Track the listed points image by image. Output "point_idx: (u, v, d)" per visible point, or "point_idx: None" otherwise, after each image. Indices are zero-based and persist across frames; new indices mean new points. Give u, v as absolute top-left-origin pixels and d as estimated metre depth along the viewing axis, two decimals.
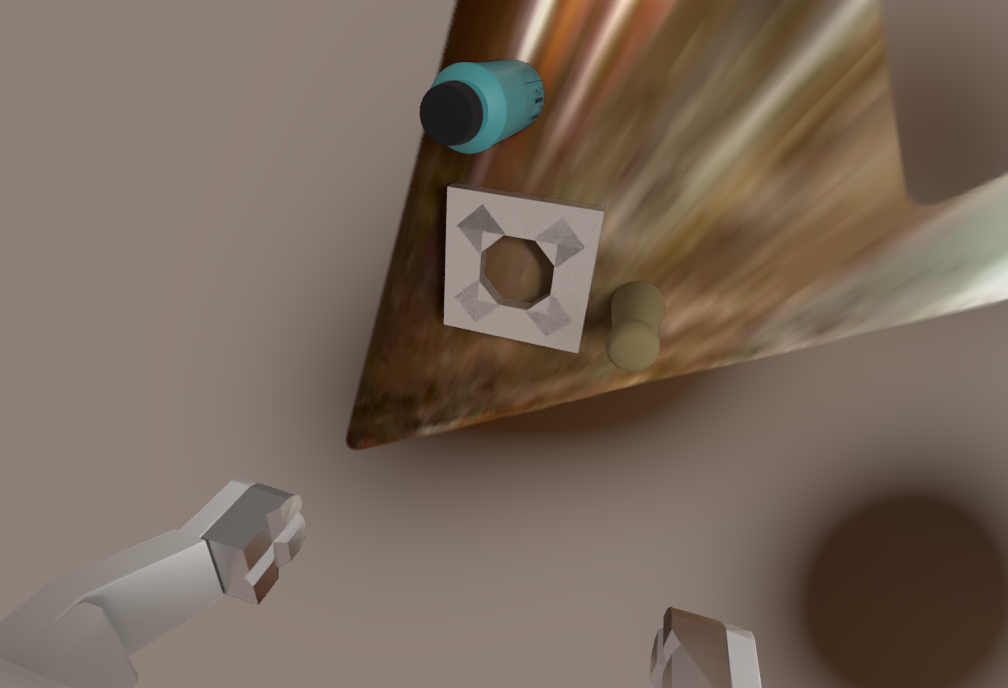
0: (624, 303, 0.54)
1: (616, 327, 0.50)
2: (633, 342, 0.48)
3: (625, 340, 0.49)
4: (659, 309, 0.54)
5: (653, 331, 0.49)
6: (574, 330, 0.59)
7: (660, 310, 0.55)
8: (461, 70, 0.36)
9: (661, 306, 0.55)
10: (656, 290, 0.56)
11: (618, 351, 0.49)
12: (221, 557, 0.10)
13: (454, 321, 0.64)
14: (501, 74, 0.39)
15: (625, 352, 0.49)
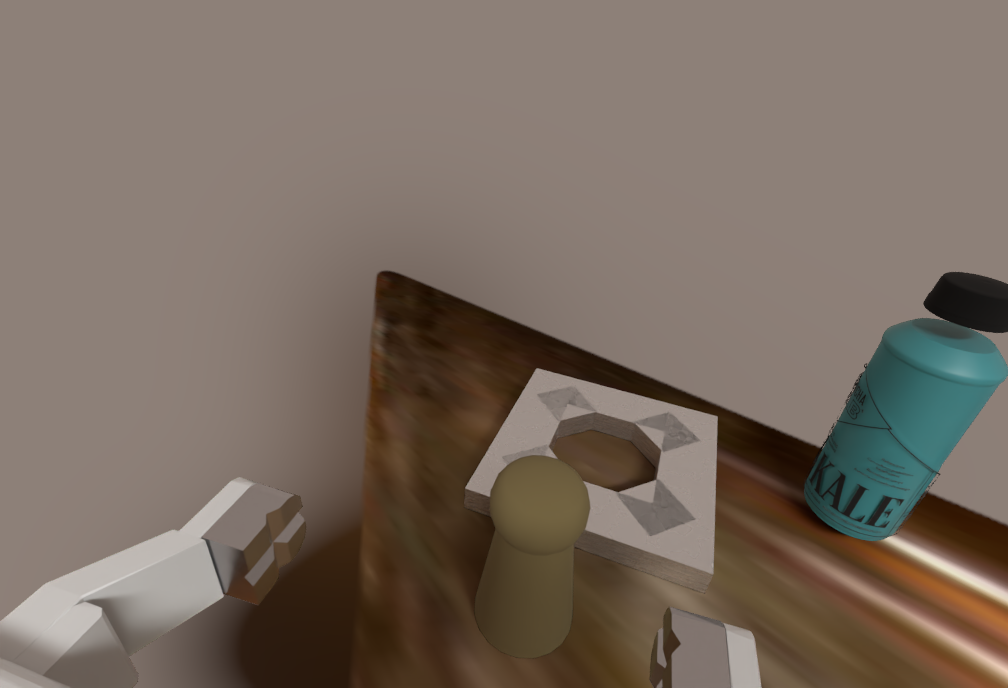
0: None
1: None
2: (567, 487, 0.26)
3: (570, 478, 0.26)
4: (541, 620, 0.28)
5: (569, 538, 0.25)
6: None
7: (537, 622, 0.28)
8: None
9: (537, 633, 0.28)
10: (556, 642, 0.29)
11: (549, 464, 0.27)
12: (221, 557, 0.10)
13: (539, 377, 0.49)
14: (980, 409, 0.30)
15: (547, 472, 0.26)
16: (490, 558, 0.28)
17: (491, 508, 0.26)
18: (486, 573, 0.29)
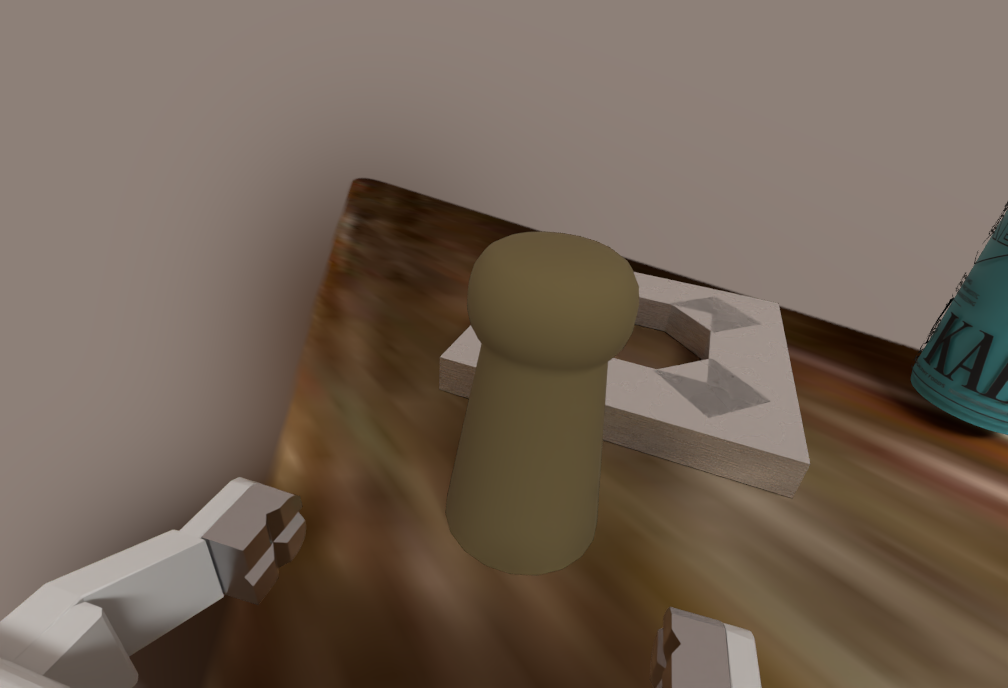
0: None
1: None
2: (602, 256, 0.15)
3: (606, 250, 0.15)
4: (551, 506, 0.17)
5: (607, 335, 0.14)
6: None
7: (545, 510, 0.17)
8: None
9: (544, 530, 0.17)
10: (574, 552, 0.18)
11: (568, 235, 0.16)
12: (221, 557, 0.10)
13: None
14: None
15: (566, 239, 0.15)
16: (469, 408, 0.17)
17: (469, 297, 0.15)
18: (463, 437, 0.18)
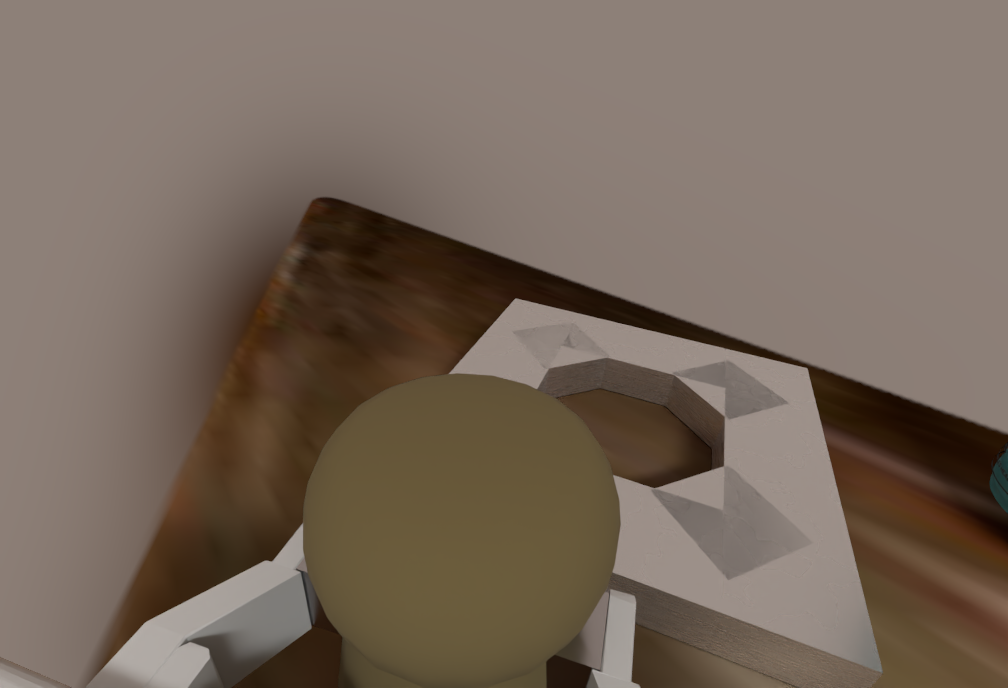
0: None
1: None
2: (547, 457, 0.08)
3: (560, 430, 0.08)
4: None
5: (552, 637, 0.07)
6: None
7: None
8: None
9: None
10: None
11: (496, 391, 0.09)
12: None
13: (518, 310, 0.31)
14: None
15: (487, 410, 0.08)
16: (341, 656, 0.10)
17: None
18: None
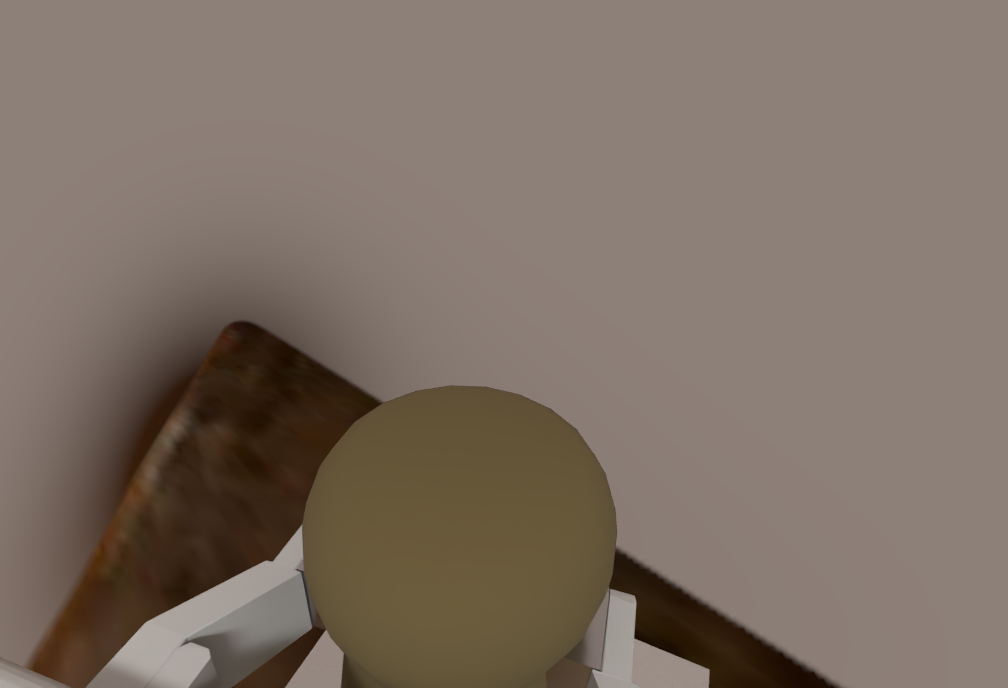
0: None
1: None
2: (544, 471, 0.08)
3: (556, 442, 0.08)
4: None
5: (553, 649, 0.07)
6: None
7: None
8: None
9: None
10: None
11: (490, 404, 0.09)
12: None
13: None
14: None
15: (483, 425, 0.08)
16: (343, 669, 0.11)
17: None
18: None
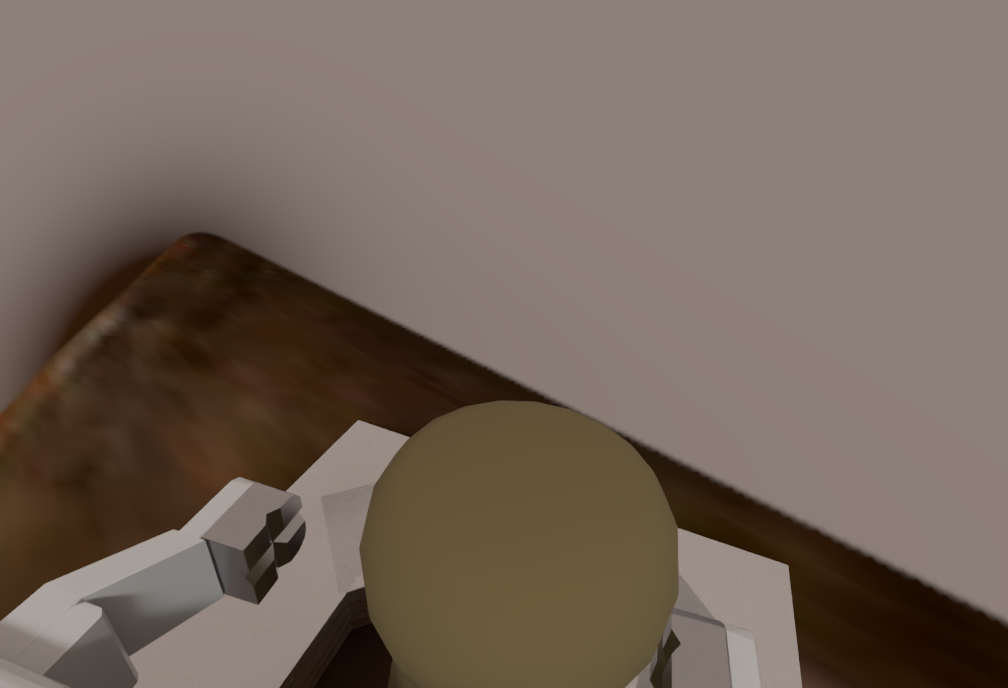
0: None
1: None
2: (609, 489, 0.08)
3: (616, 459, 0.08)
4: None
5: (627, 674, 0.07)
6: None
7: None
8: None
9: None
10: None
11: (545, 420, 0.09)
12: (221, 557, 0.10)
13: (352, 445, 0.21)
14: None
15: (541, 442, 0.08)
16: None
17: (361, 564, 0.08)
18: None
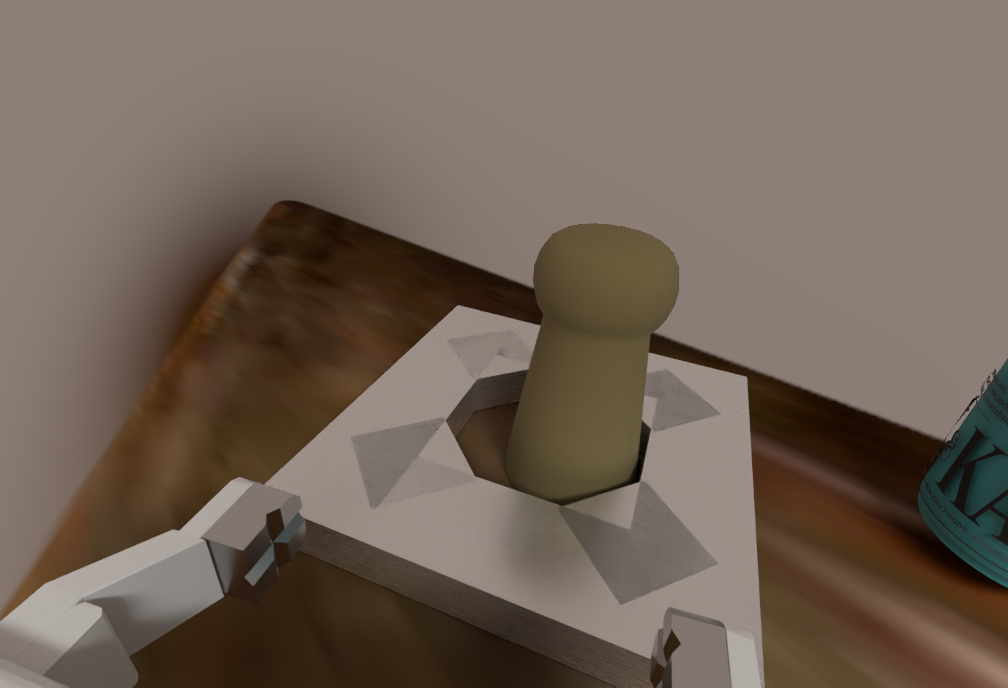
0: None
1: None
2: (649, 242, 0.18)
3: (650, 237, 0.18)
4: (605, 456, 0.20)
5: (657, 307, 0.17)
6: (336, 506, 0.18)
7: (600, 460, 0.20)
8: None
9: (599, 477, 0.20)
10: None
11: (616, 226, 0.19)
12: (221, 557, 0.10)
13: (458, 317, 0.31)
14: None
15: (617, 229, 0.18)
16: (531, 376, 0.20)
17: (538, 279, 0.18)
18: (524, 402, 0.21)
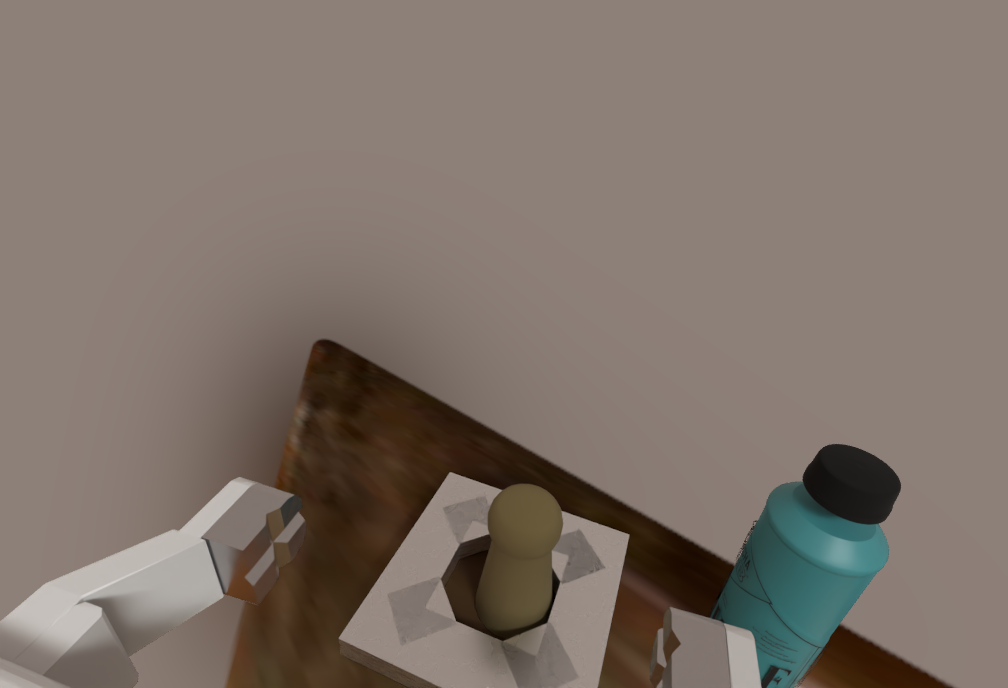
0: None
1: None
2: (545, 509, 0.34)
3: (548, 501, 0.35)
4: (527, 610, 0.36)
5: (547, 547, 0.33)
6: (383, 643, 0.35)
7: (524, 612, 0.36)
8: (880, 528, 0.28)
9: (524, 620, 0.37)
10: None
11: (532, 491, 0.35)
12: (221, 557, 0.10)
13: (450, 484, 0.47)
14: (861, 592, 0.28)
15: (530, 497, 0.35)
16: (488, 563, 0.37)
17: (489, 525, 0.35)
18: (484, 575, 0.37)
